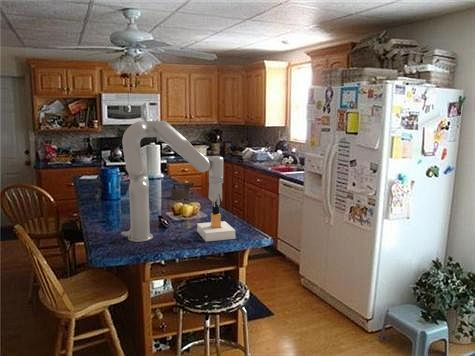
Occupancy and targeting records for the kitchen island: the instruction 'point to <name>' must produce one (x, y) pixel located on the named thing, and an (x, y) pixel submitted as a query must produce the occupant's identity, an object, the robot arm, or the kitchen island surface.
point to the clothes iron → (181, 191)
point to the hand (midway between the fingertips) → (215, 213)
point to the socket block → (215, 231)
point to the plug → (215, 221)
